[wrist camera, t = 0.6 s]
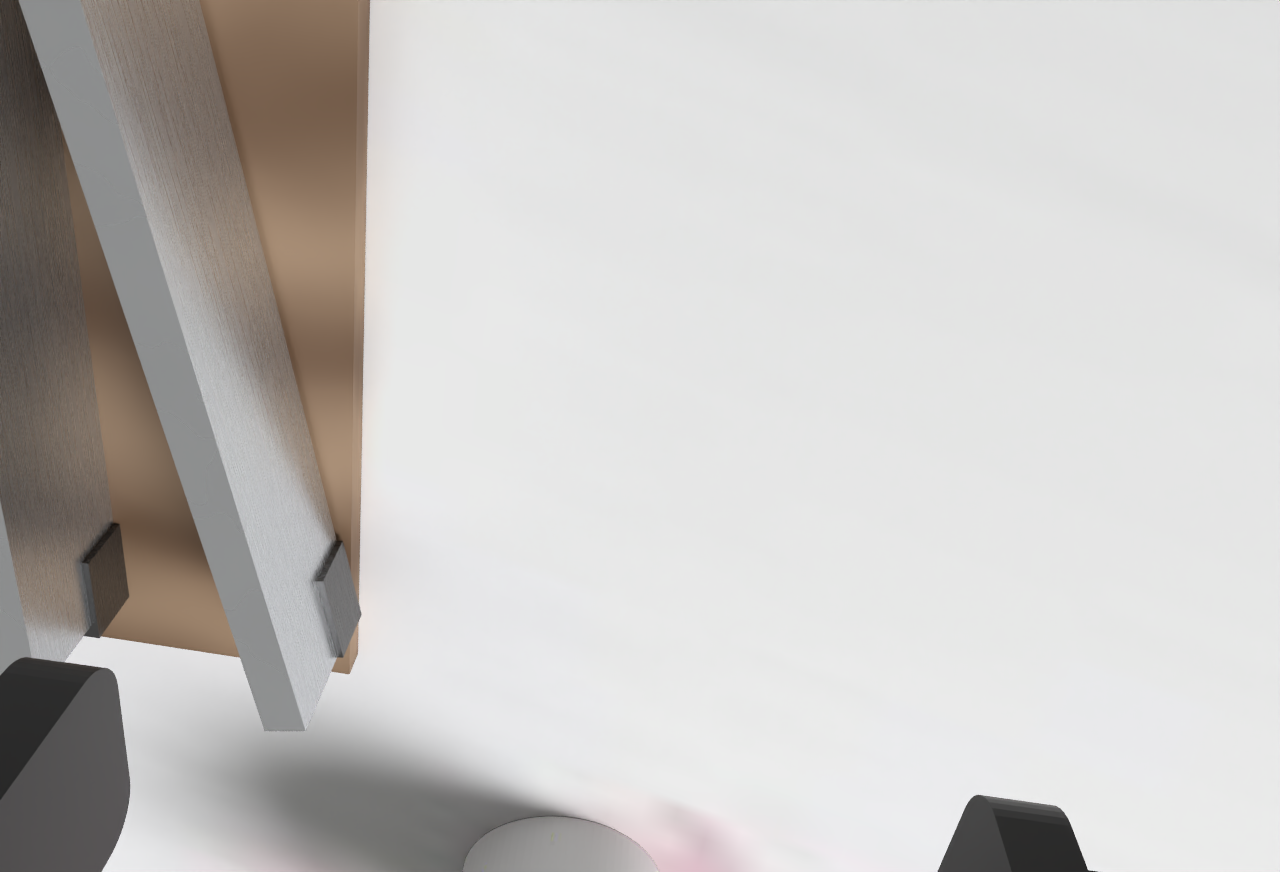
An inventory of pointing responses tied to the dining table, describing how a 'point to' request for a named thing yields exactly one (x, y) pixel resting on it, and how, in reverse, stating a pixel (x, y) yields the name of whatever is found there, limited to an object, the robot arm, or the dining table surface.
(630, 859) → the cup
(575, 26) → the dining table surface
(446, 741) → the dining table surface
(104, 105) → the tongs swing arm
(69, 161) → the walnut board
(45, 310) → the arm
